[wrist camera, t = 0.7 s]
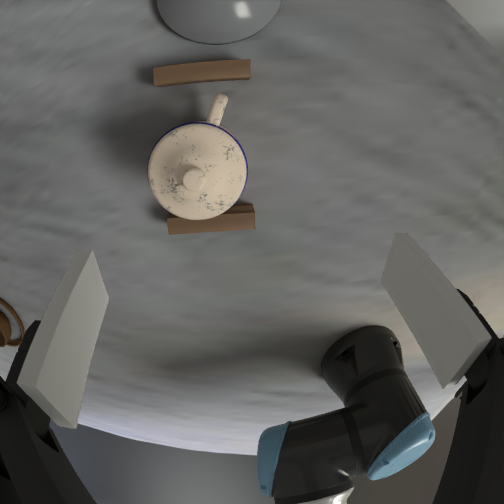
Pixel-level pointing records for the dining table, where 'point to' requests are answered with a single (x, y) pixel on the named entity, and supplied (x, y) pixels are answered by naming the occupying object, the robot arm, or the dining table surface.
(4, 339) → the place setting
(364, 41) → the dining table surface
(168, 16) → the grey flat disc
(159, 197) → the teacup with lid
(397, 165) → the dining table surface
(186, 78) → the walnut cradle
